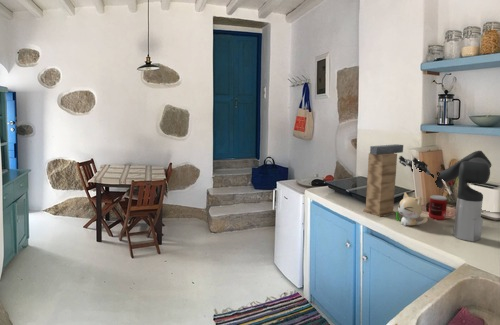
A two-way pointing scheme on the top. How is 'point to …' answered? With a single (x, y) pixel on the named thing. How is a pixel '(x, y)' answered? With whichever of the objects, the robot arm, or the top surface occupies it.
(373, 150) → the block
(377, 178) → the stand
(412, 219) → the kitten
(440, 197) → the canned food
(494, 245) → the top surface
